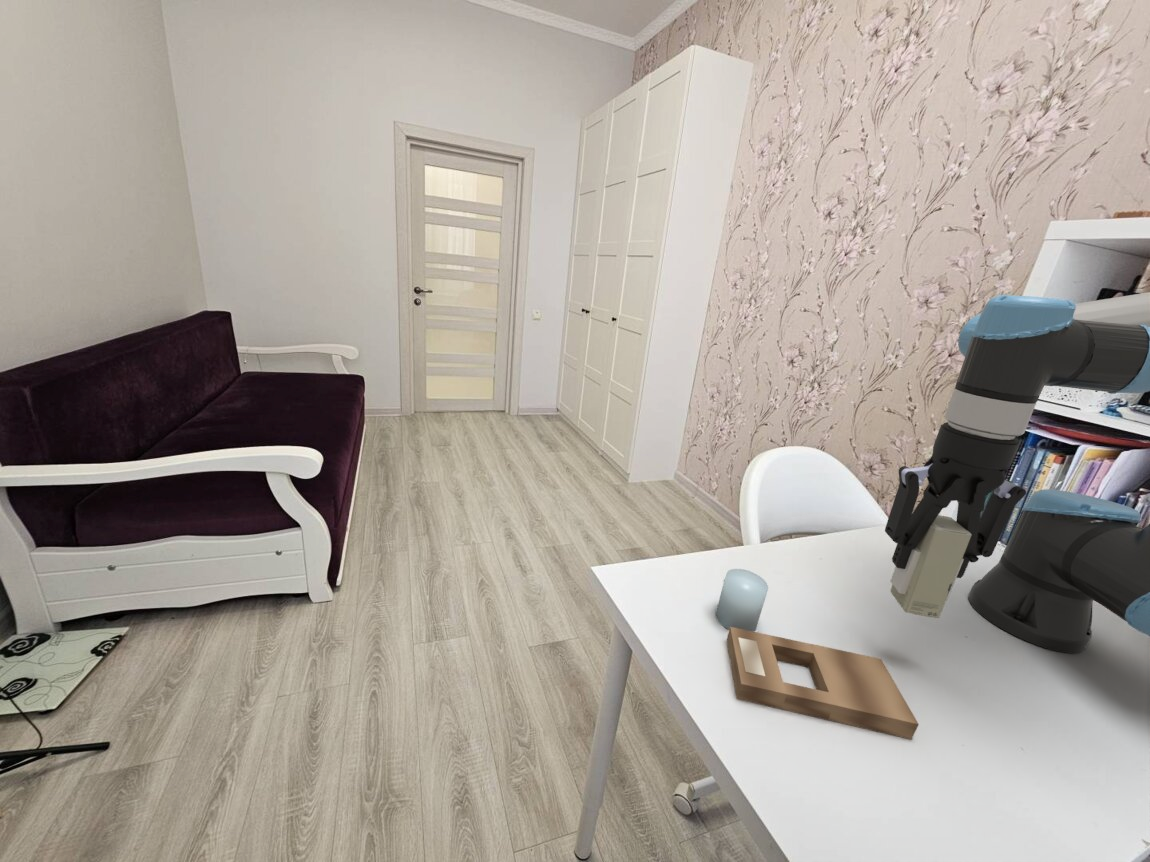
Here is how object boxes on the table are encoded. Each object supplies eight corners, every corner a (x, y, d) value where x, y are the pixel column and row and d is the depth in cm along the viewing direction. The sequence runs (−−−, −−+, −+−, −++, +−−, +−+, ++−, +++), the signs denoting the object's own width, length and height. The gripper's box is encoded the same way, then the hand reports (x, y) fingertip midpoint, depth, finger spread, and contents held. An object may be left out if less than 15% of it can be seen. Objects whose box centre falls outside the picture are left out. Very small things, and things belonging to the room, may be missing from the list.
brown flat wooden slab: (875, 672, 65) (881, 658, 64) (911, 739, 55) (919, 723, 54) (726, 640, 67) (730, 626, 66) (736, 698, 58) (741, 683, 57)
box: (939, 620, 62) (976, 536, 58) (903, 613, 63) (936, 529, 59) (920, 595, 67) (952, 515, 63) (886, 589, 68) (916, 509, 64)
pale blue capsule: (752, 610, 74) (763, 573, 72) (760, 638, 68) (772, 598, 66) (713, 602, 75) (723, 565, 72) (718, 629, 69) (729, 589, 67)
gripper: (1038, 429, 59) (971, 585, 67) (888, 411, 61) (840, 563, 69) (1088, 450, 52) (1007, 622, 60) (917, 428, 54) (860, 596, 62)
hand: (917, 590), depth 64 cm, fingers closed on box, 4 cm apart
